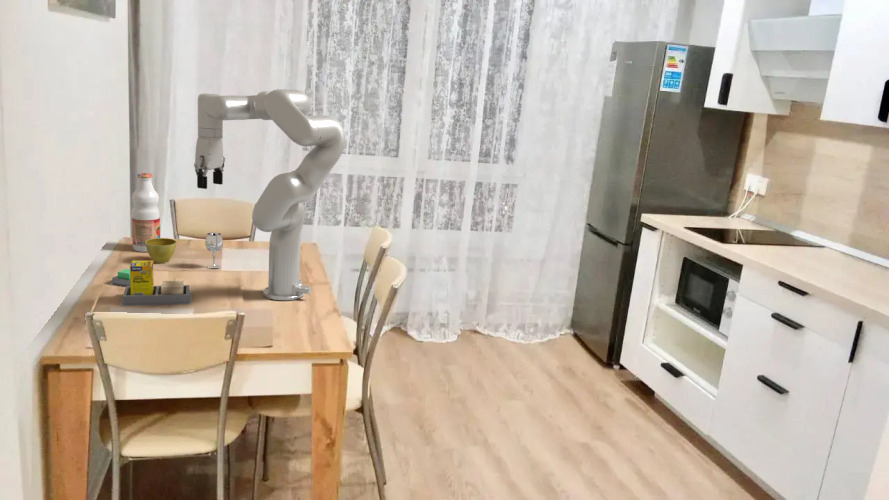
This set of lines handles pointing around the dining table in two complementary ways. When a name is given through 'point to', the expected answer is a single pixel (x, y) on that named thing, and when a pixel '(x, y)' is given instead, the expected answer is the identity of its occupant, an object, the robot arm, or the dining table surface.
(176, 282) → the block
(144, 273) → the supplement box
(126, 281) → the button housing
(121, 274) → the button
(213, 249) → the wineglass
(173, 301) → the divided grey tray
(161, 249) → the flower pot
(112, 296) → the dining table surface
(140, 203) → the fruit juice
